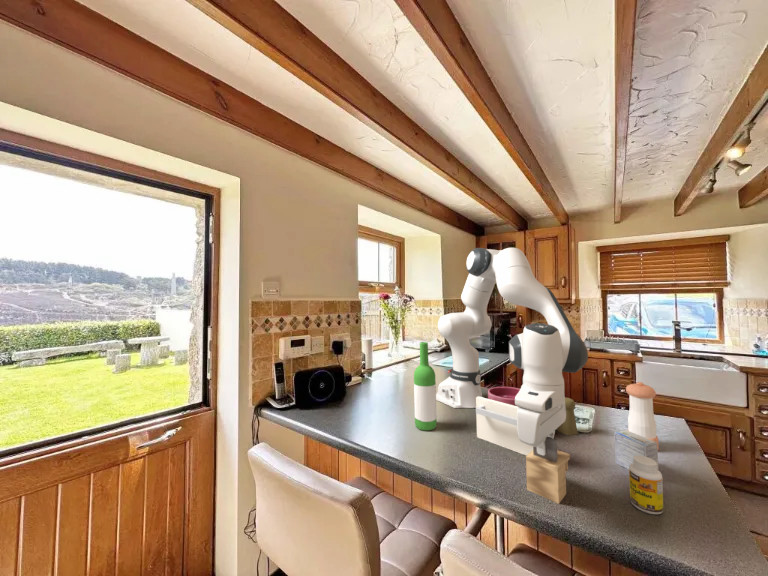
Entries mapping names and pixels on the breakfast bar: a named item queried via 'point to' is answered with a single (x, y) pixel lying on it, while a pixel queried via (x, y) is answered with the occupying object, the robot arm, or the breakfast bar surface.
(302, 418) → the breakfast bar surface
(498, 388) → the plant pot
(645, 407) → the pepper shaker
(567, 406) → the pepper shaker
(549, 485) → the oak cabinet block
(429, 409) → the wine bottle
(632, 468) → the supplement bottle
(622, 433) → the medicine box
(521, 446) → the wall board
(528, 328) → the robot arm
